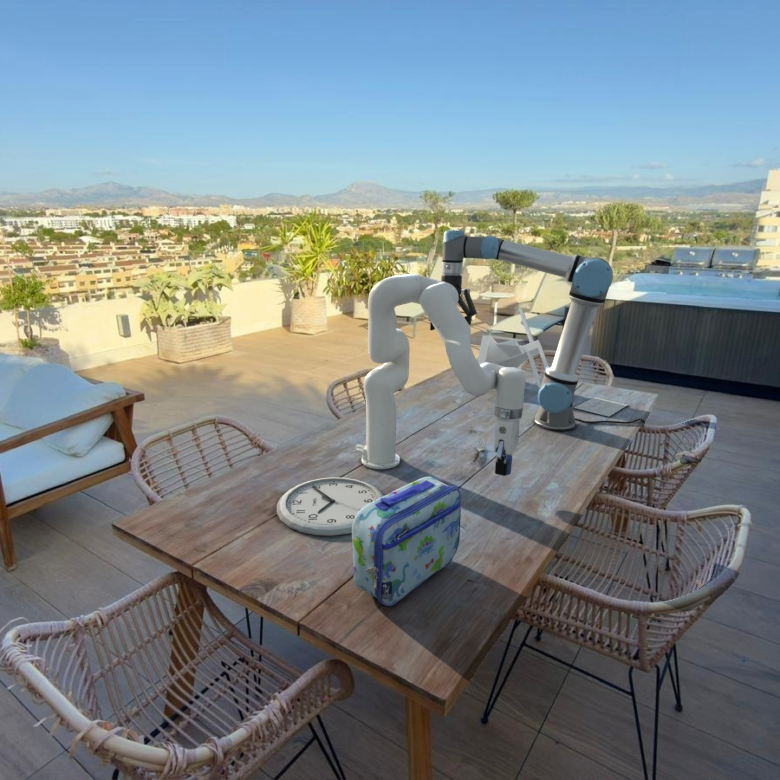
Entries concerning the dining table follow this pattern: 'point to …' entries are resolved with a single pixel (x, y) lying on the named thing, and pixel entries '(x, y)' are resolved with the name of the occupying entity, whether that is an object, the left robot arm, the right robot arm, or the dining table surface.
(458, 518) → the lunch box
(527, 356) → the white plastic object
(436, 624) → the dining table surface
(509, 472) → the can
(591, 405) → the invitation card
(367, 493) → the wall clock
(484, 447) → the fork
